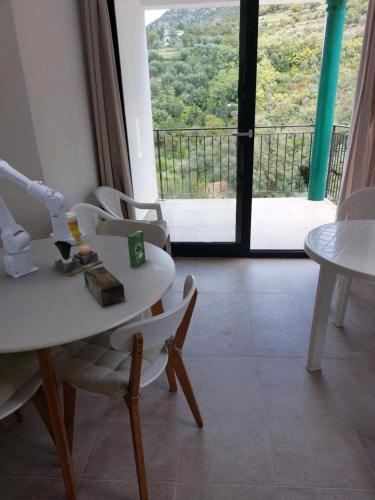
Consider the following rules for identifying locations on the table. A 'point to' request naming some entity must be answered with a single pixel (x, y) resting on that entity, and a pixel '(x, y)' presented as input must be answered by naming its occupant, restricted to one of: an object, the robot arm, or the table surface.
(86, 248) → the terracotta plug
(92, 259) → the socket board
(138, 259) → the coffee box
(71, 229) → the beer can
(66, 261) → the aluminium plug
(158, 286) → the table surface
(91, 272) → the beverage carton
